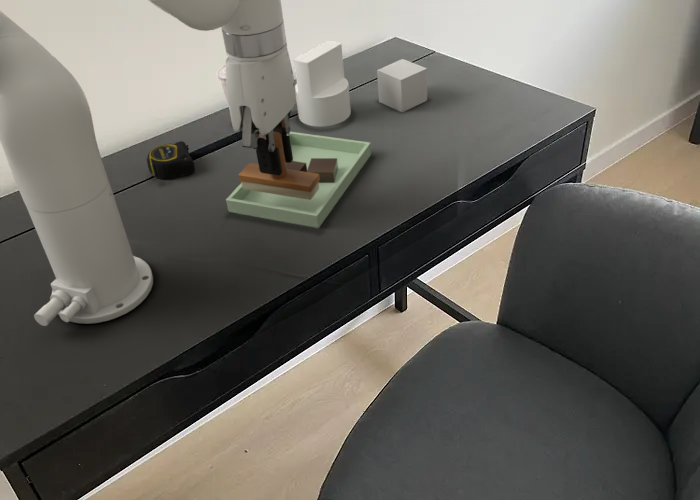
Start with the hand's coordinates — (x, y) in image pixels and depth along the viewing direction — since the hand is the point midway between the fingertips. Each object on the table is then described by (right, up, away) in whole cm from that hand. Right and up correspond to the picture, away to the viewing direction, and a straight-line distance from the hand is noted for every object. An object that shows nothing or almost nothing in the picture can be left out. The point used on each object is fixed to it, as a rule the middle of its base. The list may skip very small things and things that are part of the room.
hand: (276, 165), depth 102 cm
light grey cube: (+19, +14, +29) cm, 38 cm away
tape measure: (-17, +1, +16) cm, 24 cm away
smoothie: (-8, +10, +27) cm, 30 cm away
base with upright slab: (+6, +11, +26) cm, 29 cm away
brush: (0, -3, +2) cm, 4 cm away
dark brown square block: (+1, -1, +10) cm, 10 cm away
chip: (+6, 0, +10) cm, 12 cm away
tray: (+3, -2, +10) cm, 10 cm away
